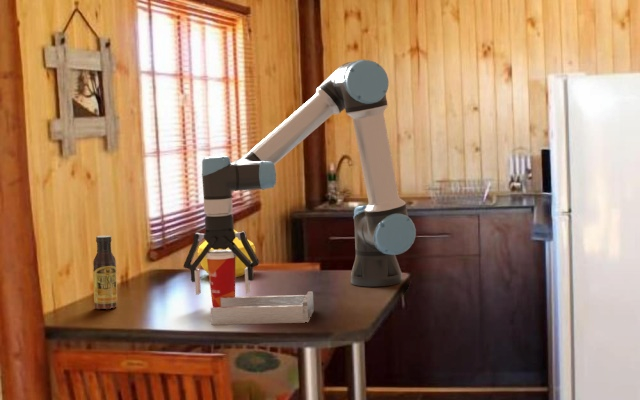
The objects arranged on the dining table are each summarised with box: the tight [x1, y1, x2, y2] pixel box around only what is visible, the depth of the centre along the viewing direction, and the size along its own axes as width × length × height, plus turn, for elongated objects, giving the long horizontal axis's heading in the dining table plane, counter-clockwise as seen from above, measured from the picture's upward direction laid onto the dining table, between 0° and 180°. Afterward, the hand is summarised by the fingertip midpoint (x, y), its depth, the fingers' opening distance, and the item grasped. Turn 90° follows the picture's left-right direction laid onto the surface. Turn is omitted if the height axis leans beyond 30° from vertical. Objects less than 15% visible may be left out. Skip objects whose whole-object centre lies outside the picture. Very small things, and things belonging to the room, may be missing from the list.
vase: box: [197, 229, 256, 278], centre depth 299 cm, size 18×18×19 cm
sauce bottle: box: [92, 235, 118, 310], centre depth 257 cm, size 6×6×20 cm
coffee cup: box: [206, 250, 236, 307], centre depth 252 cm, size 8×8×15 cm
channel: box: [210, 290, 315, 326], centre depth 237 cm, size 24×13×5 cm, turn 85°
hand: (223, 293), depth 252 cm, fingers open, 13 cm apart
